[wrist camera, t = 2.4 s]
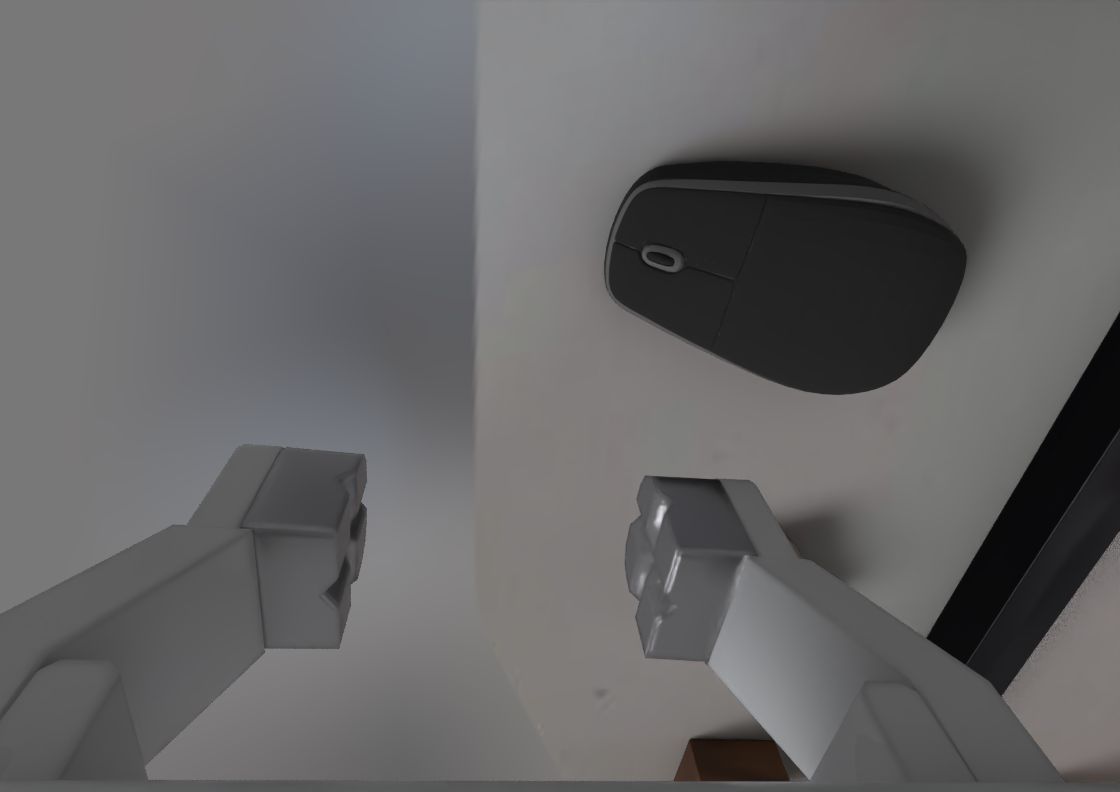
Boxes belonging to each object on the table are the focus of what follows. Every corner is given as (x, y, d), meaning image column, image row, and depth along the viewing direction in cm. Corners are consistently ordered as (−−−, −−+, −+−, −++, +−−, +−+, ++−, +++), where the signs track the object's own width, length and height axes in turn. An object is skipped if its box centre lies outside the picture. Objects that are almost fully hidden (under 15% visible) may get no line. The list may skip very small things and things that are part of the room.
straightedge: (826, 806, 40) (845, 850, 38) (1183, 203, 23) (1256, 220, 20) (870, 806, 40) (891, 850, 38) (1255, 213, 23) (1334, 232, 21)
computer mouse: (635, 118, 20) (664, 135, 16) (976, 204, 22) (1066, 235, 18) (580, 327, 23) (594, 378, 19) (882, 383, 25) (944, 438, 22)
